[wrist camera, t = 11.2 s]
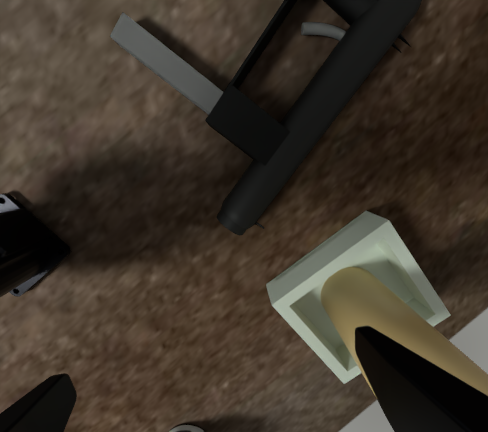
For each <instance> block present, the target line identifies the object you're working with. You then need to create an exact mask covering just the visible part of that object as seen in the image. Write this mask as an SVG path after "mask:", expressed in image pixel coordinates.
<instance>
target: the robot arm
mask: <svg viewBox="0 0 488 432" xmlns="http://www.w3.org/2000/svg"><path fill="white" fill-rule="evenodd" d="M3 198H4V199H5V201H6V202H4V200H3ZM61 249H62V250H63V251H64V253H63V252H62V251H61ZM70 252H71V250H70V248H69V246H67V245H66V244H65V243H64V242H63V241H62V240H61V239H60V238H58V237H57V236H56V235H55V234H54V233H53V232H52V231H50V230H49V229H48V228H47V227H46V226H45V225H44V224H43V223H41V222H40V221H39V220H38V219H37V218H36V217H35V216H34V215H32V214H31V213H30V212H29V211H28V210H27V209H26V208H24V207H23V206H22V205H21V204H20V203H19V202H18V201H17V200H15V199H14V198H13V197H12V196H11V195H9V194H6V193H5V194H0V297H2V296H3V295H5V294H6V293H8V292H10V293H11V294H12V295H14V296H21V295H22V294H24V293H25V292H26V291H28V290H29V289H30V288H31V287H32V286H33V285H34V284H36V283H37V282H38V281H39V280H40V279H41V278H43V277H44V276H45V275H46V274H47V273H48V272H49V271H51V270H52V269H53V268H54V267H55V266H56V265H57V264H59V263H60V262H61V261H62V260H63V259H64V258H65V257H67V256H68V255H69V254H70ZM355 351H356V355H357V357H358V359H359V361H360V364H361V366H362V368H363V370H364V372H365V374H366V376H367V378H368V381H369V383H370V385H371V387H372V389H373V391H374V393H375V395H376V397H377V400H378V402H379V404H380V406H381V408H382V410H383V412H384V414H385V416H386V417H387V419H388V421H389V423H390V425H391V426H392V428H393V430H394V431H395V432H488V396H487V395H486V394H484V393H482V392H481V391H479V390H477V389H476V388H474V387H472V386H470V385H469V384H467V383H465V382H464V381H462V380H460V379H459V378H457V377H455V376H454V375H452V374H450V373H448V372H447V371H445V370H443V369H442V368H440V367H438V366H437V365H435V364H433V363H432V362H430V361H428V360H426V359H425V358H423V357H421V356H420V355H418V354H416V353H415V352H413V351H411V350H410V349H408V348H406V347H404V346H403V345H401V344H399V343H398V342H396V341H394V340H393V339H391V338H389V337H388V336H386V335H384V334H383V333H381V332H379V331H377V330H376V329H374V328H372V327H370V326H361V327H357V328H355ZM76 397H77V394H76V390H75V388H74V386H73V383H72V381H71V379H70V377H69V375H68V374H65V373H64V374H58V375H53V376H51V377H49V378H48V379H46V380H45V381H44V382H42V383H41V384H40V385H38V386H37V387H35V388H34V389H33V390H31V391H30V392H29V393H27V394H26V395H25V396H23V397H22V398H21V399H19V400H18V401H17V402H15V403H14V404H13V405H11V406H10V407H9V408H7V409H6V410H5V411H3V412H2V413H1V414H0V432H64V429H65V427H66V424H67V422H68V419H69V417H70V414H71V412H72V410H73V407H74V405H75V402H76Z"/></svg>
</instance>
